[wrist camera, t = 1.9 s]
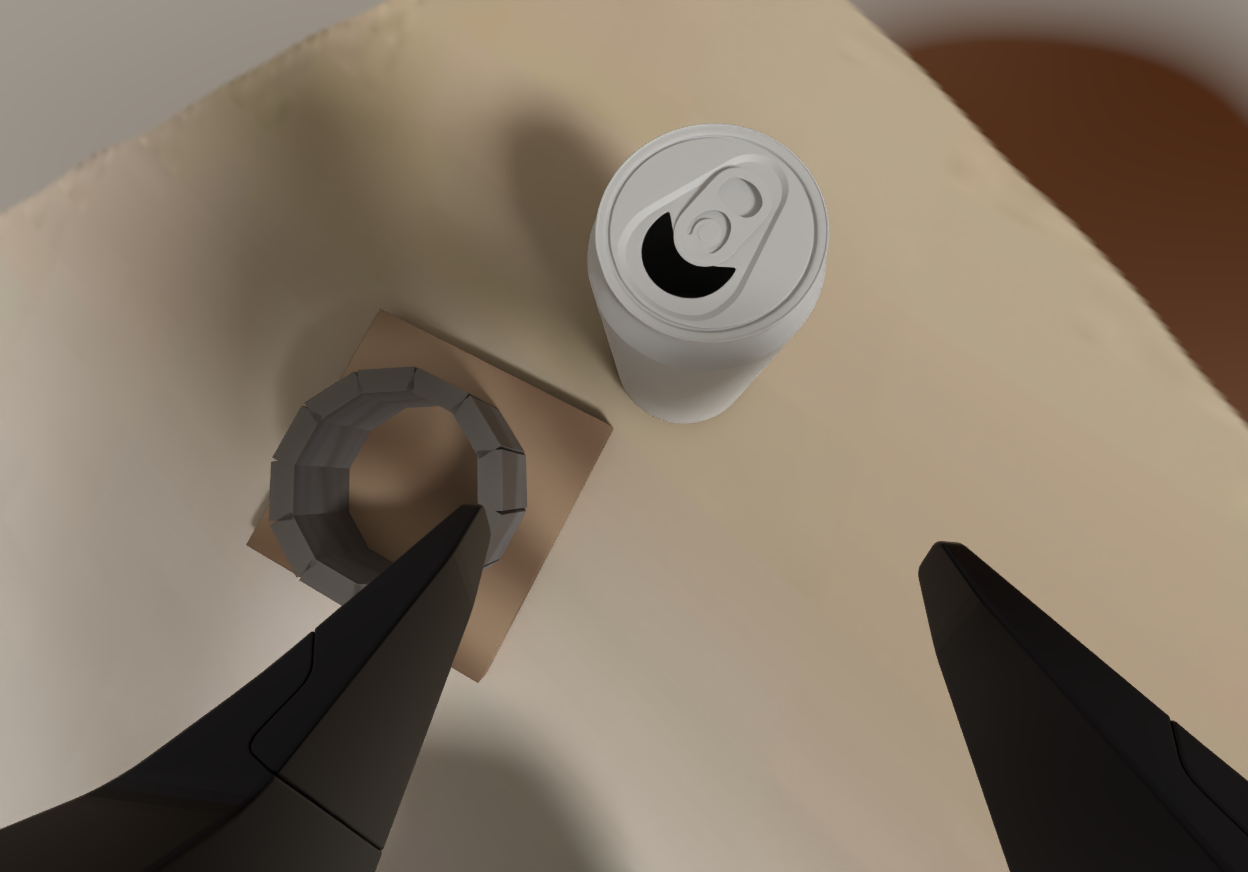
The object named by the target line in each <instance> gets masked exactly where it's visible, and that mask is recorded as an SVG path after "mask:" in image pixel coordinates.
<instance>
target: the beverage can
mask: <svg viewBox="0 0 1248 872" xmlns="http://www.w3.org/2000/svg"><path fill="white" fill-rule="evenodd" d="M828 242H829V221H828V213H827V209H826V204H825V201H824V198H823V195H822V193H821V190H820V188H819V186H818V184H817V182H816V180H815V178H814V177H813V175H812V173H811V172H810V171H809V169H808V168H807V167H806V165H805V164H804V163H803V162H802V161H801V160H800V159H799V158H798V157H797V156H796V155H795V154H794V153H793V152H792V151H791V150H790V149H788V148H787V147H786V146H784V145H783V144H781V143H780V142H778V141H777V140H775V139H773V138H771V137H769V136H767V135H765V134H763V133H761V132H758V131H756V130H753V129H749V128H745V127H741V126H736V125H729V124H716V123H714V124H699V125H692V126H687V127H683V128H679V129H676V130H673V131H670V132H667V133H665V134H663V135H661V136H658V137H657V138H655V139H653V140H651V141H649V142H648V143H646V144H645V145H643V146H642V147H641V148H639V149H638V150H637V151H636V152H634V153H633V154H632V155H631V156H630V157H629V158H628V159H627V160H626V161H625V162H624V163H623V164H622V165H621V166H620V168H619V169H618V170H617V171H616V173H615V174H614V175H613V177H612V179H611V180H610V182H609V184H608V186H607V188H606V189H605V192H604V194H603V196H602V199H601V202H600V205H599V208H598V213H597V216H596V218H595V221H594V224H593V227H592V230H591V233H590V238H589V244H588V251H587V268H588V276H589V281H590V284H591V288H592V291H593V294H594V298H595V301H596V304H597V307H598V310H599V314H600V317H601V320H602V323H603V326H604V330H605V333H606V336H607V339H608V342H609V345H610V349H611V352H612V355H613V358H614V361H615V365H616V368H617V371H618V374H619V377H620V381H621V383H622V386H623V388H624V389H625V391H626V393H627V394H628V396H629V397H630V398H631V400H632V401H633V402H634V403H635V404H636V405H637V406H638V407H640V408H641V409H642V410H643V411H645V412H646V413H648V414H650V415H652V416H653V417H655V418H658V419H661V420H664V421H667V422H673V423H695V422H700V421H704V420H707V419H709V418H712V417H714V416H716V415H718V414H720V413H721V412H723V411H724V410H726V409H727V408H728V407H729V406H730V405H731V404H733V403H734V402H735V400H736V399H737V398H738V397H739V396H740V395H741V394H742V393H743V391H744V390H745V389H746V388H747V387H748V386H749V385H750V384H751V383H752V381H753V380H754V379H755V378H756V377H757V376H758V375H759V374H760V372H761V371H762V370H763V369H764V368H765V367H766V366H767V365H768V363H769V362H770V361H771V360H772V359H773V358H774V357H775V356H776V355H777V353H778V352H779V351H780V350H781V349H782V348H783V347H784V346H785V344H786V343H787V342H788V341H789V340H790V339H791V338H792V337H793V335H794V334H795V333H796V332H797V331H798V330H799V328H800V327H801V326H802V325H803V323H804V322H805V321H806V319H807V318H808V316H809V315H810V313H811V311H812V310H813V308H814V306H815V304H816V302H817V299H818V297H819V294H820V292H821V289H822V285H823V281H824V277H825V270H826V254H827V248H828Z"/></svg>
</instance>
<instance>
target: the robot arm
mask: <svg viewBox="0 0 1248 872" xmlns="http://www.w3.org/2000/svg"><path fill="white" fill-rule="evenodd" d="M490 538H491V530H490V525H489V522H488V518H487V514H486V510H485V508H484V506H483V505H481V504H471V503H465V504H462V505H460V506H459V507H458V508H457V509H456V510H454V511H453V512H452V513H451V514H450V515H449V516H447V517H446V518H445V519H444V520H443V521H441V522H440V523H439V524H438V525H437V526H436V527H434V528H433V529H432V530H431V531H430V532H428V533H427V534H426V535H425V536H424V537H423V538H421V539H420V540H419V541H418V542H417V543H416V544H414V545H413V546H412V547H411V548H410V549H408V550H407V551H406V552H405V553H404V554H403V555H401V556H400V557H399V558H398V559H397V560H395V561H394V562H393V563H392V564H391V565H390V566H388V567H387V568H386V569H385V570H384V571H382V572H381V573H380V574H379V575H378V576H377V577H375V578H374V579H373V580H372V581H371V582H369V583H368V584H367V585H366V586H365V587H364V588H362V589H361V590H360V591H359V592H358V593H357V594H355V595H354V596H353V597H352V598H351V599H349V600H348V601H347V602H346V603H345V604H344V605H342V606H341V607H340V608H339V609H338V610H336V611H335V612H334V613H333V614H332V615H331V616H329V617H328V618H327V619H326V620H325V621H323V622H322V623H321V624H320V625H319V626H318V627H316V629H315V632H310V633H309V634H308V635H307V636H306V637H304V638H303V639H302V640H301V641H300V642H298V643H297V644H296V645H295V646H294V647H293V648H291V649H290V650H289V651H288V652H286V653H285V654H284V655H283V656H282V657H280V658H279V659H278V660H277V661H275V662H274V663H273V664H272V665H270V666H269V667H268V668H267V669H266V670H264V671H263V672H262V673H260V674H259V675H258V676H257V677H255V678H254V679H253V680H251V681H250V682H249V683H247V684H246V685H245V686H243V687H242V688H241V689H239V690H238V691H237V692H235V693H234V694H233V695H232V696H230V697H229V698H228V699H226V700H225V701H223V702H222V703H221V704H219V705H218V706H217V707H215V708H214V709H213V710H211V711H210V712H208V713H207V714H206V715H204V716H203V717H202V718H200V719H199V720H198V721H196V722H195V723H193V724H192V725H191V726H189V727H188V728H187V729H185V730H184V731H183V732H181V733H180V734H179V735H177V736H176V737H174V738H173V739H172V740H170V741H169V742H168V743H166V744H165V745H164V746H162V747H161V748H159V749H158V750H157V751H155V752H154V753H153V754H151V755H150V756H149V757H147V758H146V759H144V760H143V761H141V762H140V763H139V764H137V765H136V766H134V767H133V768H131V769H130V770H128V771H126V772H125V773H123V774H122V775H120V776H118V777H117V778H115V779H113V780H111V781H110V782H108V783H106V784H104V785H102V786H101V787H99V788H97V789H95V790H93V791H91V792H89V793H87V794H85V795H82V796H80V797H78V798H75V799H73V800H71V801H68V802H66V803H63V804H61V805H58V806H56V807H54V808H51V809H49V810H46V811H44V812H41V813H39V814H36V815H34V816H31V817H29V818H26V819H24V820H22V821H19V822H17V823H14V824H12V825H9V826H7V827H4V828H2V829H0V872H375V870H376V867H377V865H378V862H379V859H380V857H381V854H382V852H381V850H383V848H384V845H385V843H386V840H387V837H388V835H389V832H390V829H391V827H392V824H393V821H394V819H395V816H396V813H397V811H398V808H399V805H400V803H401V800H402V797H403V795H404V792H405V789H406V787H407V784H408V781H409V779H410V776H411V773H412V771H413V768H414V765H415V763H416V760H417V757H418V755H419V752H420V749H421V747H422V744H423V741H424V739H425V736H426V733H427V731H428V728H429V725H430V723H431V720H432V717H433V714H434V712H435V709H436V706H437V704H438V701H439V698H440V696H441V693H442V690H443V688H444V685H445V682H446V680H447V677H448V674H449V672H450V669H451V666H452V664H453V661H454V658H455V656H456V653H457V650H458V648H459V645H460V642H461V640H462V637H463V634H464V632H465V629H466V626H467V624H468V621H469V618H470V615H471V612H472V610H473V606H474V603H475V599H476V595H477V591H478V587H479V583H480V579H481V575H482V571H483V567H484V563H485V559H486V555H487V551H488V547H489V543H490ZM918 577H919V582H920V586H921V591H922V595H923V600H924V604H925V609H926V613H927V618H928V623H929V627H930V632H931V636H932V641H933V644H934V648H935V652H936V656H937V659H938V662H939V665H940V668H941V671H942V674H943V677H944V680H945V683H946V686H947V689H948V692H949V694H950V697H951V700H952V703H953V706H954V709H955V712H956V715H957V718H958V721H959V724H960V727H961V730H962V733H963V736H964V738H965V741H966V744H967V747H968V750H969V753H970V756H971V759H972V762H973V765H974V768H975V771H976V774H977V777H978V780H979V782H980V785H981V788H982V791H983V794H984V797H985V800H986V803H987V806H988V809H989V812H990V815H991V818H992V821H993V824H994V826H995V829H996V832H997V835H998V838H999V841H1000V844H1001V847H1002V850H1003V853H1004V856H1005V859H1006V862H1007V865H1008V868H1009V870H1010V872H1248V781H1247V780H1246V779H1245V778H1244V777H1242V776H1241V775H1240V774H1239V773H1238V772H1236V771H1235V770H1234V769H1233V768H1231V767H1230V766H1229V765H1228V764H1226V763H1225V762H1224V761H1223V760H1222V759H1220V758H1219V757H1218V756H1217V755H1215V754H1214V753H1213V752H1212V751H1210V750H1209V749H1208V748H1207V747H1206V746H1204V745H1203V744H1202V743H1201V742H1200V741H1198V740H1197V739H1196V738H1195V737H1194V736H1192V735H1191V734H1190V733H1189V732H1188V731H1186V730H1185V729H1184V728H1183V727H1182V726H1180V725H1179V724H1178V723H1177V722H1175V721H1172V720H1171V721H1170V717H1169V716H1168V715H1167V714H1166V713H1165V712H1163V711H1162V710H1161V709H1160V708H1159V707H1157V706H1156V705H1155V704H1154V703H1153V702H1151V701H1150V700H1149V699H1148V698H1147V697H1145V696H1144V695H1143V694H1142V693H1141V692H1139V691H1138V690H1137V689H1136V688H1135V687H1133V686H1132V685H1131V684H1130V683H1129V682H1127V681H1126V680H1125V679H1124V678H1123V677H1121V676H1120V675H1119V674H1118V673H1117V672H1116V671H1114V670H1113V669H1112V668H1111V667H1110V666H1108V665H1107V664H1106V663H1105V662H1104V661H1102V660H1101V659H1100V658H1099V657H1098V656H1096V655H1095V654H1094V653H1093V652H1092V651H1090V650H1089V649H1088V648H1087V647H1086V646H1084V645H1083V644H1082V643H1081V642H1080V641H1078V640H1077V639H1076V638H1075V637H1074V636H1072V635H1071V634H1070V633H1069V632H1068V631H1066V630H1065V629H1064V628H1063V627H1062V626H1060V625H1059V624H1058V623H1057V622H1056V621H1054V620H1053V619H1052V618H1051V617H1050V616H1048V615H1047V614H1046V613H1045V612H1044V611H1043V610H1041V609H1040V608H1039V607H1038V606H1037V605H1035V604H1034V603H1033V602H1032V601H1031V600H1029V599H1028V598H1027V597H1026V596H1025V595H1023V594H1022V593H1021V592H1020V591H1019V590H1017V589H1016V588H1015V587H1014V586H1013V585H1011V584H1010V583H1009V582H1008V581H1007V580H1005V579H1004V578H1003V577H1002V576H1001V575H999V574H998V573H997V572H996V571H995V570H993V569H992V568H991V567H990V566H989V565H987V564H986V563H985V562H984V561H983V560H981V559H980V558H979V557H978V556H977V555H975V554H974V553H973V552H972V551H971V550H970V549H968V548H967V547H966V546H964V545H963V544H961V543H957V542H947V541H938V542H936V543H935V544H934V545H933V546H932V548H931V549H930V551H929V552H928V554H927V555H926V557H925V558H924V560H923V561H922V563H921V565H920V567H919V571H918Z"/></svg>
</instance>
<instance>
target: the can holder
mask: <svg viewBox="0 0 1248 872" xmlns="http://www.w3.org/2000/svg"><path fill="white" fill-rule="evenodd" d="M305 404H306V406H307V407H305V406H302V407H301V408H300V410H299V412H298V414H297V415H296V417H295V419H294V421H293V422H292V424H291V426H290V428H289V429H288V431H287V433H286V435H285V436H284V438H283V440H282V442H281V443H280V445H279V447H278V449H277V450H276V452H275V454H274V456H273V457H272V458H274V459H276V460H277V461H273V462H271V479H270V504H269V505H268V507H267V509H266V511H265V512H264V514H263V516H262V518H261V519H260V521H259V523H258V525H257V527H256V528H255V530H254V532H253V534H252V535H251V537H250V539H249V541H248V542H247V544H246V545H247V546H249V547H251V548H252V549H254V550H256V551H257V552H259V553H261V554H262V555H264V556H266V557H267V558H269V559H271V560H272V561H274V562H276V563H277V564H279V565H281V566H282V567H284V568H286V569H287V570H289V571H291V572H293V573H294V574H295V575H296V577H301V578H300V581H302V582H303V583H305V584H307V585H308V586H310V587H312V588H313V589H315V590H317V591H318V592H320V593H322V594H323V595H325V596H327V597H328V598H330V599H332V600H333V601H335V602H337V603H338V604H340V605H344V604H345V603H346V602H347V601H348V600H349V599H351V598H352V597H353V596H354V595H355V594H357V593H358V592H359V591H360V590H361V589H362V588H364V587H365V586H366V585H367V584H368V583H369V582H371V581H372V580H373V579H374V578H375V577H377V576H378V575H379V574H380V573H381V572H382V571H384V570H385V569H386V568H387V567H388V566H390V565H391V564H392V563H393V562H394V561H395V560H397V559H398V558H399V557H400V556H401V555H403V554H404V553H405V552H406V551H407V550H408V549H410V548H411V547H412V546H413V545H414V544H416V543H417V542H418V541H419V540H420V539H421V538H423V537H424V536H425V535H426V534H427V533H428V532H430V531H431V530H432V529H433V528H434V527H436V526H437V525H438V524H439V523H440V522H441V521H443V520H444V519H445V518H446V517H447V516H449V515H450V514H451V513H452V512H453V511H454V510H456V509H457V508H458V507H459V506H460V505H462V504H465V503H471V504H481V505H483V506H484V508H485V510H486V514H487V518H488V522H489V525H490V530H491V538H490V543H489V547H488V551H487V555H486V559H485V563H484V567H483V571H482V575H481V579H480V583H479V587H478V591H477V595H476V599H475V603H474V606H473V610H472V612H471V615H470V618H469V621H468V624H467V626H466V629H465V632H464V634H463V637H462V640H461V642H460V645H459V648H458V650H457V653H456V656H455V658H454V661H453V664H452V666H451V667H452V668H454V669H455V670H457V671H459V672H460V673H462V674H464V675H465V676H467V677H469V678H470V679H472V680H474V681H475V682H477V683H478V682H479V681H480V680H481V679H482V678H483V677H484V676H485V675H486V673H487V671H488V669H489V667H490V665H491V663H492V661H493V659H494V658H495V656H496V654H497V652H498V650H499V648H500V646H501V644H502V642H503V640H504V638H505V636H506V634H507V633H508V631H509V629H510V627H511V625H512V623H513V621H514V619H515V617H516V615H517V613H518V611H519V609H520V608H521V606H522V604H523V602H524V600H525V598H526V596H527V594H528V592H529V590H530V588H531V586H532V584H533V582H534V581H535V579H536V577H537V575H538V573H539V571H540V569H541V567H542V565H543V563H544V561H545V559H546V557H547V556H548V554H549V552H550V550H551V548H552V546H553V544H554V542H555V540H556V538H557V536H558V534H559V532H560V531H561V529H562V527H563V525H564V523H565V521H566V519H567V517H568V515H569V513H570V511H571V509H572V507H573V506H574V504H575V502H576V500H577V498H578V496H579V494H580V492H581V490H582V488H583V486H584V484H585V482H586V481H587V479H588V477H589V475H590V473H591V471H592V469H593V467H594V465H595V463H596V461H597V459H598V457H599V456H600V454H601V452H602V450H603V448H604V446H605V444H606V442H607V440H608V438H609V436H610V434H611V432H612V430H613V427H612V426H611V425H609V424H607V423H605V422H603V421H601V420H599V419H597V418H595V417H593V416H591V415H589V414H587V413H585V412H583V411H581V410H579V409H577V408H575V407H573V406H571V405H569V404H567V403H565V402H563V401H561V400H559V399H557V398H555V397H553V396H551V395H549V394H547V393H545V392H544V391H542V390H540V389H538V388H536V387H534V386H532V385H530V384H528V383H526V382H524V381H522V380H520V379H518V378H516V377H514V376H512V375H510V374H508V373H506V372H504V371H502V370H500V369H498V368H496V367H494V366H492V365H490V364H488V363H486V362H484V361H482V360H480V359H478V358H476V357H474V356H472V355H471V354H469V353H467V352H465V351H463V350H461V349H459V348H457V347H455V346H453V345H451V344H449V343H447V342H445V341H443V340H441V339H439V338H437V337H435V336H433V335H431V334H429V333H427V332H425V331H423V330H421V329H419V328H417V327H415V326H413V325H411V324H409V323H407V322H405V321H403V320H401V319H399V318H398V317H396V316H394V315H392V314H390V313H388V312H386V311H384V310H382V309H380V310H379V312H378V314H377V315H376V317H375V319H374V321H373V322H372V324H371V326H370V328H369V330H368V331H367V333H366V335H365V337H364V338H363V340H362V342H361V344H360V345H359V347H358V349H357V351H356V352H355V354H354V356H353V358H352V359H351V361H350V363H349V365H348V366H347V368H346V370H345V372H344V373H343V375H342V377H341V379H340V380H339V381H338V382H336V383H335V384H333V385H332V386H330V387H329V388H327V389H325V390H324V391H322V392H321V393H319V394H318V395H316V396H315V397H313V398H312V399H310V400H308V401H307V402H305Z"/></svg>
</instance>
